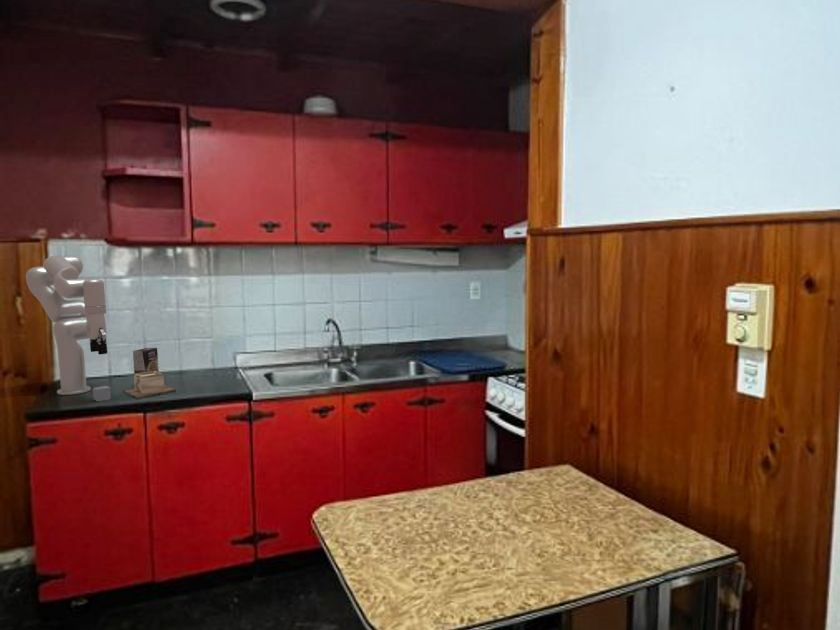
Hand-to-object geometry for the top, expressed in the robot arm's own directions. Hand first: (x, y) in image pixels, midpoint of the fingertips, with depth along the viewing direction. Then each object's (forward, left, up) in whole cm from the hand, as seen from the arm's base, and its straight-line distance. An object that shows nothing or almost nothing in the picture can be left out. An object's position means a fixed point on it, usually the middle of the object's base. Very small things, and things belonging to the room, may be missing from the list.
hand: (99, 352), depth 243 cm
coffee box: (-14, +23, -20) cm, 33 cm away
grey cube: (0, 0, -19) cm, 19 cm away
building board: (+2, +18, -19) cm, 26 cm away
